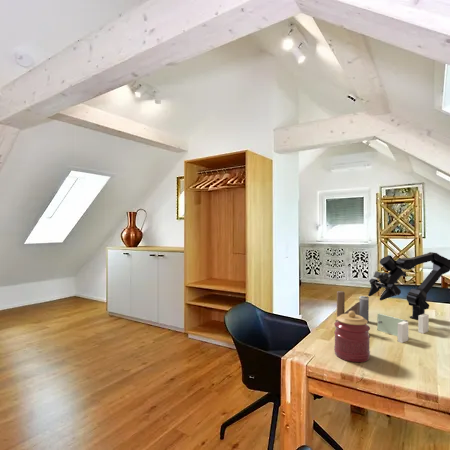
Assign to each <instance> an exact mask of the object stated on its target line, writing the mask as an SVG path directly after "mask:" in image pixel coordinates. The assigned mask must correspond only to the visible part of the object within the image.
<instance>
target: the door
mask: <svg viewBox="0 0 450 450" xmlns="http://www.w3.org/2000/svg"><path fill="white" fill-rule="evenodd" d="M376 317H377V319H376V320H377V330H376V331H380V332H383V333H385V334H389V335H392V336H395V337H396V336H397V337H398V323H400V322H403V321H405V322H408V320H406V319H402V318H399V317H394V316H391V315H387V314H383V313H377V316H376Z"/></svg>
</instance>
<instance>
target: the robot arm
mask: <svg viewBox="0 0 450 450" xmlns="http://www.w3.org/2000/svg"><path fill="white" fill-rule="evenodd" d="M428 262H430V263H432V270H431V271H430V273H429V274H428V275H427V276H426V277H425V278H424V280H423V281H421V284H420V285H419V286H418V287H417V288H411V289H410V290H409V292H407V295H406V301H407V303H408V305H409V306H411V307H412V308H411V309H412V311H411V312H412V315H411V316H409V318H410V319H414V320H418V316H419V315H422V314H426V312H425V311H426V310H428V309H429V307H430V304H429V303H428V302H427V299H428V296H427V294H428V293H429V292H430V290H431V289H432V288H433V287H434V285H435V284H436V283H437V282H438V281H439V279H440V278H441V277H442V275H444V274H447V273H449V272H450V259H448V258H446V257H445V256H443V255H440V254H439V253H438V252H431V251H430V252H427V253H424V254H419V255H416V256H413V257H399V258H397V260H395V259H394V257H393V256H392V255H390V254H387V256H384V257H382V258H380V260H379V264H380V265H381V266H382V267H383V268H384V269H385V271H387V272H384V271H383V272H380V271H375V272H374V274H373V278H370V279H369V281H368V282H369V284H370V289H369V292H368V296H367V297H371V296H373V295H374V294H376V293H378V292H379V291H380V290H381V289H382V288H383V289H385V290H384V292H383V293H382V294H381V296H380V297H379V301H384V300H386V299H388V298H392V297H396V296H400V294H402V293H401V292H402V290H401V289H400V287H399V286H398V283H399V282H398V281H399V279H400V278H401V277H406V278H407V272H406V271H410V270H412V269H414V268H415V267H416V266H417V265H421V264H425V263H428ZM404 270H406V271H404Z"/></svg>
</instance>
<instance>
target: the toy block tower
mask: <svg viewBox="0 0 450 450" xmlns="http://www.w3.org/2000/svg"><path fill="white" fill-rule="evenodd" d="M345 295H346V294H345V291H343V290H338V291H336V318H337V317H338V316H340V315H342V314H348V313H349V311H354V312H355V314H356V315H360V301H358V302H356V303H355V304H354V305H353V306H351V307H350V308H349V309H347V310H345V308H346V307H345V297H346V296H345ZM336 321H338V320H337V319H336V320H335V322H336ZM335 322H334V323H335ZM334 327H335V328H336V326H335V325H334Z"/></svg>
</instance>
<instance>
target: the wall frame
mask: <svg viewBox="0 0 450 450" xmlns="http://www.w3.org/2000/svg"><path fill="white" fill-rule="evenodd" d="M429 315H430V314H428V313H425V314H422V315H419V316H418V319H417V320H418V321H417V322H418V323H417V324H418V326H417V327H418V330H417V333H418V334H419V333H420V334H425V333H428V332H429V327H430V325H429V320H430V319H429V317H430V316H429ZM407 341H409V321H407V322H405V321H403V322H400V323H398V336H397V343H398V342H399V343H401V344H402V343H405V342H407Z"/></svg>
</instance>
